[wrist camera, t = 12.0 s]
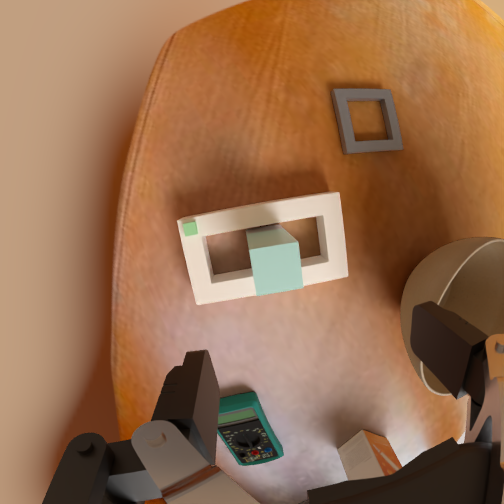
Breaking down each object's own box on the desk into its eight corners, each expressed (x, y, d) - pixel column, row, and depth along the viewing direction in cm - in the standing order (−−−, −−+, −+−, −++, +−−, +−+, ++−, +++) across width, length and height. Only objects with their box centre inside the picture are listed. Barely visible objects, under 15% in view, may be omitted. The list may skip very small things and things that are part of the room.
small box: (387, 437, 40) (413, 485, 27) (362, 456, 41) (383, 505, 28) (362, 427, 39) (389, 483, 26) (335, 449, 39) (355, 504, 27)
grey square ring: (385, 92, 27) (390, 89, 26) (398, 150, 29) (403, 149, 28) (330, 91, 27) (333, 88, 26) (343, 154, 29) (347, 153, 28)
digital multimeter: (240, 457, 39) (240, 470, 36) (202, 399, 36) (200, 414, 33) (283, 447, 39) (286, 460, 36) (254, 387, 36) (255, 401, 33)
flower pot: (483, 271, 33) (537, 295, 22) (417, 363, 36) (458, 409, 24) (426, 193, 30) (495, 200, 19) (343, 308, 33) (388, 363, 21)
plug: (279, 224, 30) (298, 241, 21) (283, 256, 31) (303, 287, 22) (245, 229, 30) (249, 249, 21) (250, 262, 31) (256, 296, 21)
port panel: (329, 191, 30) (341, 192, 26) (338, 268, 32) (350, 278, 28) (182, 217, 30) (175, 221, 26) (200, 294, 32) (196, 307, 28)
